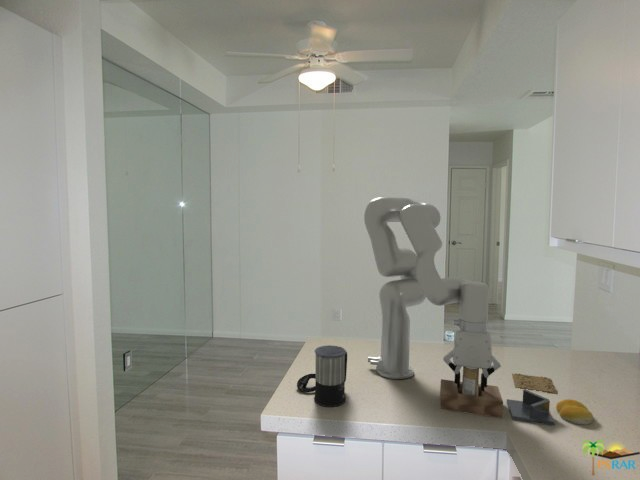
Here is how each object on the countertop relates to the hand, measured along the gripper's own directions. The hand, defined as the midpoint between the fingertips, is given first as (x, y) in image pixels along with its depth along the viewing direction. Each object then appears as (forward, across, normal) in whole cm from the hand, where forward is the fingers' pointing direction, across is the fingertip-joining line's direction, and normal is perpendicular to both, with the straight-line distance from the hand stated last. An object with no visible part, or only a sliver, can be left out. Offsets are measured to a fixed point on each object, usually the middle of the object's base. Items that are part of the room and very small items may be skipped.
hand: (470, 386), depth 116 cm
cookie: (+6, +21, +22) cm, 31 cm away
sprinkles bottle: (+6, 0, 0) cm, 6 cm away
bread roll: (+6, +27, +2) cm, 28 cm away
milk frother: (+6, -42, -7) cm, 43 cm away
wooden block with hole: (+5, 0, 0) cm, 5 cm away
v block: (+5, +15, 0) cm, 16 cm away
